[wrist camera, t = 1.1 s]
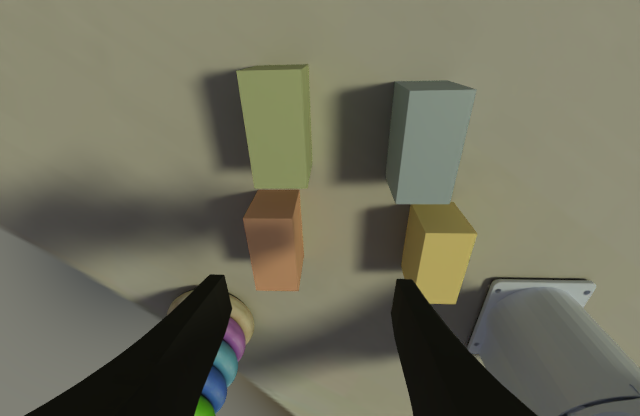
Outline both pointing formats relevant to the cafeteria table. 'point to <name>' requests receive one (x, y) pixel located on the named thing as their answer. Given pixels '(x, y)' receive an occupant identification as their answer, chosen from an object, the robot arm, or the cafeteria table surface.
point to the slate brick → (427, 139)
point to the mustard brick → (437, 250)
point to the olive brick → (277, 124)
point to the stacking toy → (224, 356)
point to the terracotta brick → (275, 239)
